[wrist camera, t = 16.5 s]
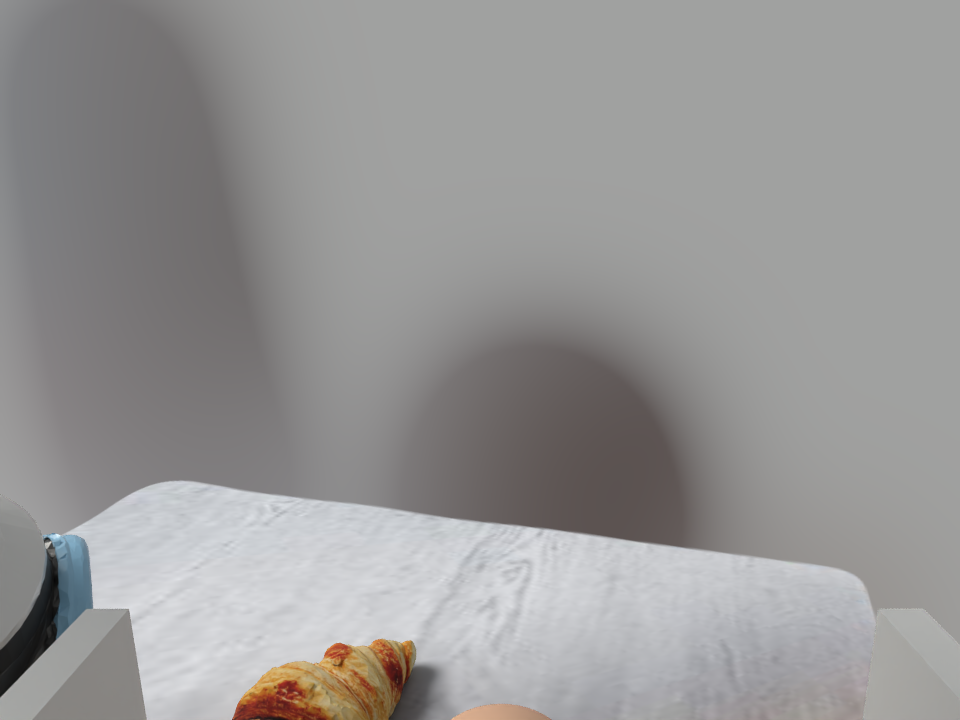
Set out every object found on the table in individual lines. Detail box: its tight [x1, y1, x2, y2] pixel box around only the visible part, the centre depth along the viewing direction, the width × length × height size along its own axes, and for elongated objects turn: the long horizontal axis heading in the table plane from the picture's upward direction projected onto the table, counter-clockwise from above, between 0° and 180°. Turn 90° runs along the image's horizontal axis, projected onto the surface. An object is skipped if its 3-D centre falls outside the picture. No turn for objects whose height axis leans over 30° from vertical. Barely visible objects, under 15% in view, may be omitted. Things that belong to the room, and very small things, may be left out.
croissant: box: [232, 639, 416, 720], centre depth 49 cm, size 21×10×8 cm, turn 147°
